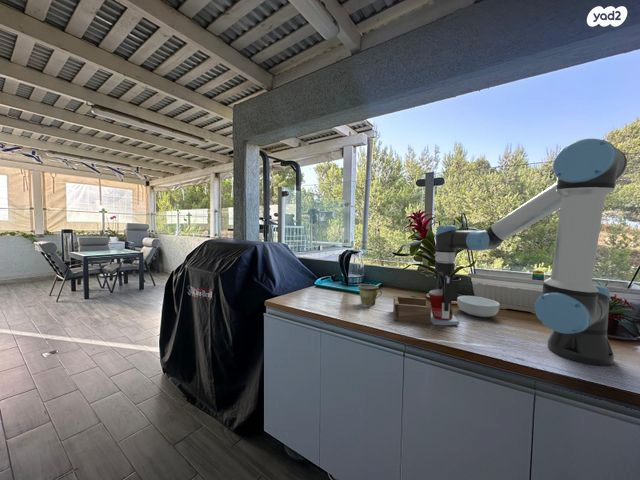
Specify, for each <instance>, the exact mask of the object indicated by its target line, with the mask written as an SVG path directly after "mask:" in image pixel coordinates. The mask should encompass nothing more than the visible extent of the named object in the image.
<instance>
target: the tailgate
mask: <svg viewBox="0 0 640 480" xmlns="http://www.w3.org/2000/svg"><path fill="white" fill-rule="evenodd" d="M459 321H460V320H458V319H457V317H456V316H454V314H453V316H452V318H450V319H445V320H441V319H436V318H434V317H433V315H432V312H431V323H433V325H439V326H459V325H460V322H459Z"/></svg>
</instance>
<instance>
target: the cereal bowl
mask: <svg viewBox="0 0 640 480" xmlns="http://www.w3.org/2000/svg"><path fill="white" fill-rule="evenodd" d="M456 299H457V301H456V302H457V306H458V308H459V309H460V311H463V312H464V313H465V314H468V315H471V316H474V317H480V318H489V317H493V316H495V315H497V314H498V313H499V311H500V306H501V305H500V303H499V302H498V301H497V300H496V301H495V300H493V299H489V298H486V297H481V296H475V295H461V296H458V297H457V298H456Z"/></svg>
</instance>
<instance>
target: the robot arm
mask: <svg viewBox="0 0 640 480" xmlns="http://www.w3.org/2000/svg"><path fill="white" fill-rule="evenodd" d="M627 167H628V158H627V155H625V153H624V152H623V150H621V149H619V148H618V147H616V146H614V145H613V143H611V142H610V141H608V140H605V139H599V138H583V139H580V140H576V141H573V142H571V143H570V144H569V143H568V145H566V146H565V147H563V148H562V149H561V150H560V151H559V152H558V153H557V155H556V156H555V158H554V160H553V162H552V171H553V173H554V175H555V177H556V179H557V180H556V182H555V183H554V184H552V185H551V186H549V187H548V188H546V189H544V191H541V193H538V194H537V195H536V196H534V197H533V198H531V199H530V200H528V201H527V202H525V203H523V204H522V205H520V206H519V207H518V208H516V209H514V210H513V211H511V212H510V213H508V214H507V215H505V216H503V217H502V218H501V219H499V220H498V221H495V222H494V223H493V224H491V225H489V226H488V227H486V228H485V229H484V230H476V229H475V230H458V229H457V227H456V225H437V227H436V233H435V234H436V235H435V253H434V254H433V256H435V258H434V259H435V263H434V270H435V271H436V272H437V282H436V289H442V293H443V301H441V303H442V318H445V319H449V310H450V303H451V304H452V277H451V276H450V273H454V272H455V270H456V269H455V267H456V266H455V265H456V264H455V263H454V262H456V250H467V251H472V252H473V251H474V252H475V251H477V252H478V251H480V252H483V251H485V250H493V249H497V248H499V247H500V246H501V245H502V244H503V242H504V241H507V239H510V238H511V237H513V236H515V235H516V234H519V233H520V232H521V231H524V230H525V229H527V228H529V227H530V226H533V224H536V223H537V222H539V221H540V220H542V219H544V218H546V217H547V216H549V215H551V214H552V213H555V212H556V211H557V210H559V214H558V222H557V230H556V238H555V244H554V245H555V246H554V253H553V260H552V267H551V273H550V276H549V277H548V278H547V279H545V280H544V281H543V285H542V291H541V295H540V296H539V297H538V298H537V299H536V300H535V303H534V313H535V315H536V317H537V319H538V320H539V321H540V323H542V324H543V326H545V327H547V328H548V329H550V330H552V331H551V334H550V335H549V337H548V340H547V348H548V350H550V351H551V352H553V353H555V354H557V355H559V356H561V357H563V358H566V359H568V360H571V361H576V362H579V363H583V364H588V365H591V366H592V365H593V366H601V367H602V366H604V367H606V366H608V367H609V366H612V365H614V361H615V355H614V353H613V349H612V347H611V344H610V341H609V339H608V325H609V310H610V300H611V294H610V289H609V288H607V287H604V286H600V285H594V283H593V277H594V269H595V265H596V258H597V251H598V244H599V239H600V238H599V237H600V231H601V225H602V224H601V223H602V218H603V213H604V212H603V211H604V204H605V199H606V198H605V197H607V195H609V194H611V193H612V192H613V191H615V189H616V188H615V187H616V181H617V180H618V179H619V178H621V176H622V175H623V174H624V172H626V170H627ZM446 299H448V300H446Z"/></svg>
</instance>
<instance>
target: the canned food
mask: <svg viewBox="0 0 640 480" xmlns="http://www.w3.org/2000/svg"><path fill="white" fill-rule="evenodd" d="M428 294H429V295H428V296H429V301H430V306H431V313H432V315H433V317H434V318H436V319H441V320H445V318H442V303H441V301H443V293H442V289H437V288H436V289H435V288H434V289H431V290H430V291H428ZM446 300H448V299H446ZM452 306H453V305H452V302H451V303H450V310H449V319H450V318H452V316H453V315H454V313H453V307H452Z"/></svg>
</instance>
